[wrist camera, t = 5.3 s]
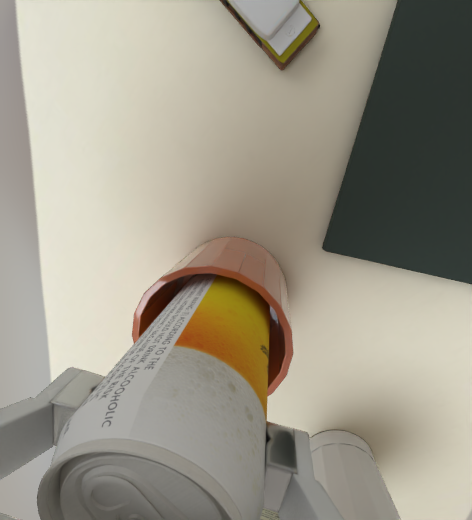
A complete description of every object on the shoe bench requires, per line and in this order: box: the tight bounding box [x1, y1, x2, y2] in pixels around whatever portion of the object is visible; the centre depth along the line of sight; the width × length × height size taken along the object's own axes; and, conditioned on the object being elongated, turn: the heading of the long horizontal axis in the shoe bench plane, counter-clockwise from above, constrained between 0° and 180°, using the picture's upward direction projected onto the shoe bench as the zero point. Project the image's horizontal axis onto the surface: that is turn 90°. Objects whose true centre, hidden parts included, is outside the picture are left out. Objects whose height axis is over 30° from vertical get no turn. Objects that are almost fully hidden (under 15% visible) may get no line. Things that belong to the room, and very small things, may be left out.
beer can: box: [37, 273, 270, 520], centre depth 14 cm, size 6×6×15 cm
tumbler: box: [132, 237, 293, 396], centre depth 18 cm, size 9×9×8 cm
